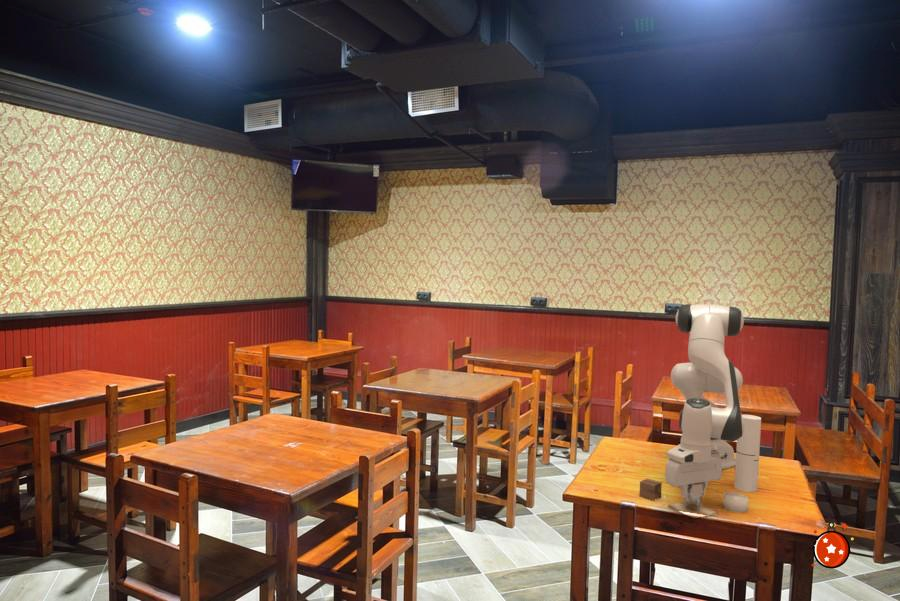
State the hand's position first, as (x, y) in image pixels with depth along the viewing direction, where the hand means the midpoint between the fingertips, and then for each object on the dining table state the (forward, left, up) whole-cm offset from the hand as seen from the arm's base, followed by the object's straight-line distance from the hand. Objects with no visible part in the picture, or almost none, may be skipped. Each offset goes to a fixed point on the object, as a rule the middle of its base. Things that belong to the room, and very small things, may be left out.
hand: (693, 496), depth 187 cm
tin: (0, 0, -3) cm, 3 cm away
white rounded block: (-15, +3, -5) cm, 16 cm away
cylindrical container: (-34, -9, -5) cm, 35 cm away
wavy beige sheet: (0, 0, -5) cm, 5 cm away
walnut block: (+4, -14, -5) cm, 15 cm away
